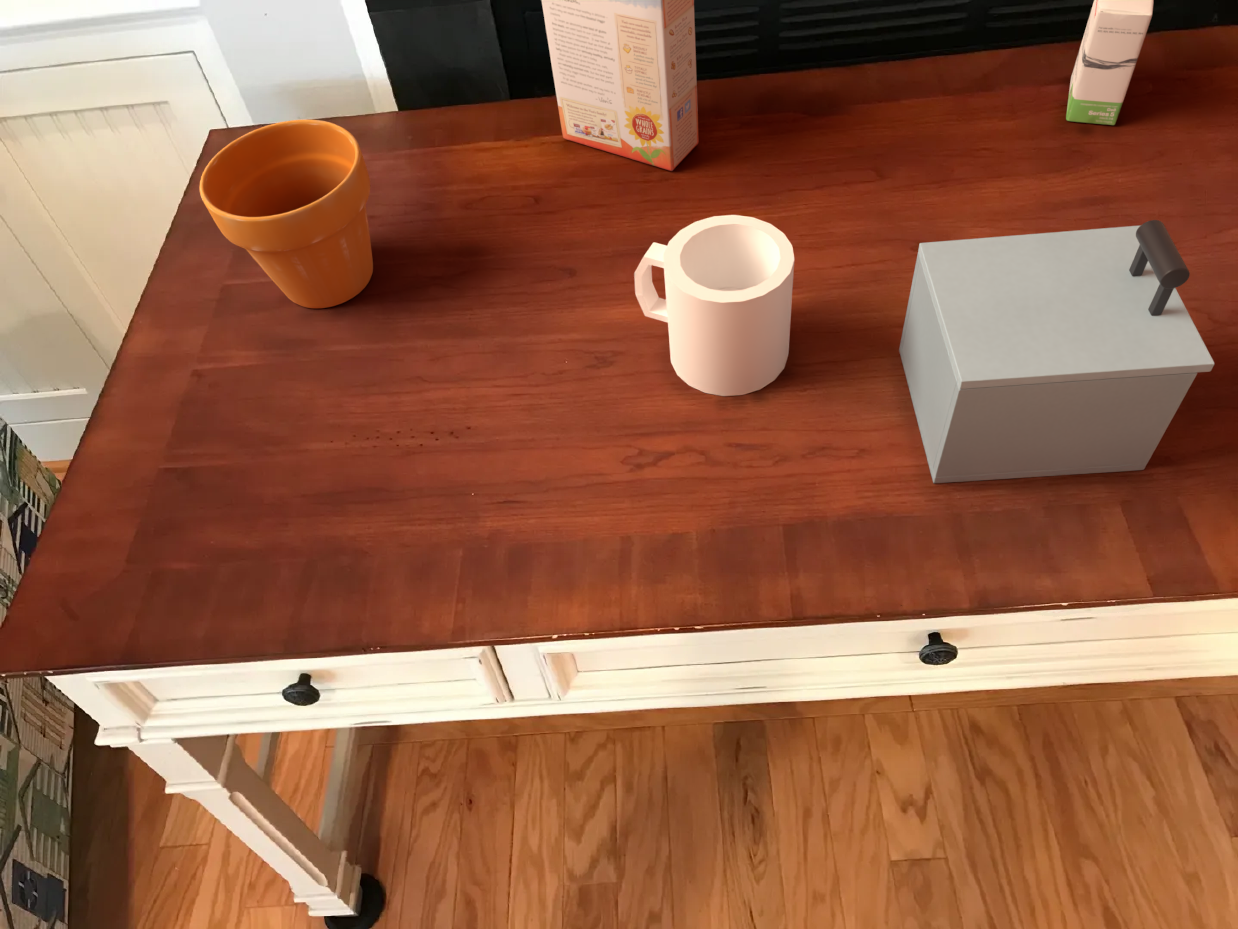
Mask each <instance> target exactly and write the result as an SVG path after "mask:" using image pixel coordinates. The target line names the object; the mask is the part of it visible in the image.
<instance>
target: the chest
mask: <svg viewBox="0 0 1238 929" xmlns="http://www.w3.org/2000/svg"><path fill="white" fill-rule="evenodd" d="M898 352H899V354H900V355H899V356H900V359H901V363H902V367H903V371H904V375H905V379H906V382H907V387H908V390H909V394H910V398H911V402H912V407H913V409H914V414H915V417H916V421H917V425H918V429H919V432H920V436H921V441H922V445H923V448H924V453H925V456H926V461H927V465H928V469H929V472H930V476H931V480H932V483H933V484H947V483H960V482H961V483H962V482H978V481H991V480H992V481H994V480H1009V479H1022V478H1023V479H1024V478H1039V477H1053V476H1054V477H1055V476H1056V477H1057V476H1070V475H1071V476H1072V475H1086V474H1101V473H1117V472H1135V471H1144V470H1145V469H1146V467H1147V465H1148V463H1149V461H1150V460H1151V458H1152V456H1153V454H1154V452H1155V451H1156V449H1157V447H1158V445H1159V444H1160V441H1161V440H1162V439H1163V436H1164V435H1165V432H1166V430H1167V429H1168V427H1169V425H1170V424H1171V422H1172V420H1173V419H1174V417H1175V415H1176V413H1177V411H1178V409H1179V408H1180V406H1181V404H1182V402H1183V400H1184V399H1185V397H1186V395H1187V393H1188V391H1189V389H1190V387H1191V386H1192V384H1193V382H1194V380H1195V379H1196V377H1197V375H1198V372H1196V373H1182V374H1168V375H1154V376H1139V377H1125V378H1111V379H1097V380H1082V381H1068V382H1054V383H1040V384H1025V385H1011V386H997V387H983V388H968V389H959V386H958V382H957V379H956V376H955V372H954V369H953V366H952V362H951V359H950V356H949V352H948V349H947V346H946V342H945V339H944V336H943V332H942V329H941V326H940V322H939V319H938V316H937V312H936V309H935V305H934V302H933V299H932V295H931V292H930V289H929V285H928V282H927V279H926V275H925V272H924V269H923V265H922V262H921V259H920V255H919V252H917V256H916V261H915V265H914V271H913V276H912V282H911V287H910V292H909V297H908V301H907V307H906V312H905V317H904V323H903V328H902V332H901V339H900V343H899V348H898Z"/></svg>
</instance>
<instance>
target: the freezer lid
mask: <svg viewBox="0 0 1238 929" xmlns="http://www.w3.org/2000/svg"><path fill="white" fill-rule="evenodd" d="M918 244H919V245H918V250H917V251H918V252H919V255H920V259H921V262H922V265H923V269H924V272H925V275H926V279H927V282H928V285H929V289H930V292H931V295H932V299H933V302H934V305H935V309H936V312H937V316H938V319H939V322H940V326H941V329H942V332H943V336H944V339H945V342H946V346H947V349H948V352H949V356H950V359H951V362H952V366H953V369H954V372H955V376H956V379H957V382H958V386H959V389H968V388H983V387H997V386H1011V385H1025V384H1040V383H1054V382H1068V381H1082V380H1097V379H1111V378H1125V377H1139V376H1154V375H1168V374H1182V373H1196V372H1197V373H1208V372H1212V370H1213V368H1214V366H1215V361H1214V359H1213V357H1212V356H1211V354H1210V352H1209V350H1208V348H1207V346H1206V344H1205V342H1204V339H1203V337H1202V336H1201V334H1200V332H1199V330H1198V328H1197V327H1196V325H1195V323H1194V321H1193V318H1192V317H1191V315H1190V313H1189V311H1188V309H1187V307H1186V305H1185V303H1184V302H1183V300H1182V298H1181V296H1180V294H1179V292H1178V290H1177V288H1180V287H1181V286H1182V285H1184V284H1185V283H1186V282H1187V281H1188V280H1189V279H1190V276H1191V274H1190V273H1191V272H1190V270H1189V269H1188V267H1187V265H1186V262H1185V261H1184V259H1183V257H1182V255H1181V253H1180V251H1179V250H1178V248H1177V246H1176V244H1175V243H1174V241H1173V239H1172V237H1171V235H1170V233H1169V232H1168V230H1167V228H1166V226H1165V224H1164V222H1162V221H1161V220H1158V219H1151V220H1147V221H1146V222H1145V221H1144V222H1143V223H1141V225H1129V226H1128V225H1127V226H1117V227H1116V226H1115V227H1105V228H1104V227H1103V228H1091V229H1090V228H1089V229H1080V230H1068V231H1054V232H1053V231H1052V232H1041V233H1029V234H1028V233H1027V234H1015V235H1014V234H1013V235H1004V236H1002V235H1001V236H992V237H990V236H989V237H978V238H965V239H952V240H940V241H928V242H919V243H918ZM918 252H917V253H918Z"/></svg>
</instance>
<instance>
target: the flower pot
mask: <svg viewBox="0 0 1238 929" xmlns="http://www.w3.org/2000/svg"><path fill="white" fill-rule="evenodd" d="M198 190H199V194H200V197H201V201H202V202H203V204H204V206H205V207H206V209H207V211H208V213H209V214H210V216H211V218H212V220H213V222H214V223H215V225H216V226H217V228H218V229H219V231H220V232H221V234H222V236H224V238H225V239H226V240H228V241H229V242H230V243H231V244H233V245H234V246H237V247H239V248H242V249H243V250H245V251H246V252H247V253H248V254H249V255H250V256H251V257H252V259H253V260H254V261H255V263H257V265H258V266H259V267H260V268H261V269H262V270H263V271H264V273H265V274H266V275H267V276H268V277H269V279H271V281H273V283H274V284H275V285H276V286H277V288H279V290H280V291H281V292H282V293H283V294H284V295H285V296H286V297H287V298H288V300H290V301H291V302H292V303H294V304H296V305H298V306H301V307H303V308H307V309H325V308H331V307H335V306H338V305H341V304H343V303H346V302H348V301H349V300H352V299H353V298H354V297H356V296H358V295H359V294H360V293H361V292H362V291H363V290H364V289H365V288H366V287H367V285H368V284H369V282H370V281H371V279H372V275H373V272H374V261H373V252H372V242H371V234H370V226H369V218H368V212H367V205H366V204H367V202H368V200H369V198H370V193H371V178H370V175H369V171H368V169H367V164H366V160H365V158H364V155H363V152H362V150H361V147H360V144H359V142H358V140H357V138H356V137H355V136H354V135H353V134H352V133H351V132H350V131H348V130H347V129H346V128H344V127H342V126H340V125H338V124H335V123H333V122H330V121H325V120H319V119H292V120H285V121H279V122H276V123H271V124H268V125H265V126H261V127H259V128H257V129H254V130H251V131H249V132H246V133H245V134H243V135H242V136H239V137H237V138H236V139H235V140H232V141H231V142H230V143H228V144H227V145H226V146H225V147H223V148H221V149H220V151H218V152H217V153H216V154H215V155H214V156H213V157H212V158H211V159H210V161H209V162H208V164H207V165H206V166H205V167H204V170H203V171H202V174H201V176H200V181H199V189H198Z"/></svg>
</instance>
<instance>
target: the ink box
mask: <svg viewBox="0 0 1238 929" xmlns="http://www.w3.org/2000/svg"><path fill="white" fill-rule="evenodd" d="M1153 11H1154V0H1093V3H1092V7H1091V8H1090V12H1089V15H1088V19H1087V23H1086V27H1085V30H1084V33H1083V37H1082V39H1081V43H1080V46H1079V50H1078V52H1077V56H1076V60H1075V63H1074V66H1073V70H1072V73H1071V76H1070V81H1069V82H1070V83H1069V89H1068V90H1069V91H1068V99H1067V106H1066V114H1065V120H1066V121H1067V122H1075V123H1086V124H1095V125H1096V124H1097V125H1108V126H1115V125H1116V123H1117V120H1118V118H1119V115H1120V112H1121V109H1122V106H1123V103H1124V100H1125V97H1126V94H1127V92H1128V89H1129V86H1130V82H1131V80H1132V77H1133V73H1134V71H1135V68H1136V65H1137V62H1138V59H1139V56H1140V53H1141V50H1142V47H1143V45H1144V41H1145V39H1146V35H1147V33H1148V30H1149V26H1150V23H1151V20H1152V17H1153Z"/></svg>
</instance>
